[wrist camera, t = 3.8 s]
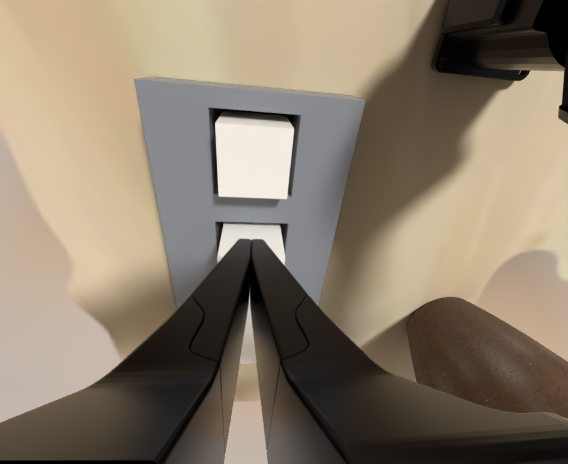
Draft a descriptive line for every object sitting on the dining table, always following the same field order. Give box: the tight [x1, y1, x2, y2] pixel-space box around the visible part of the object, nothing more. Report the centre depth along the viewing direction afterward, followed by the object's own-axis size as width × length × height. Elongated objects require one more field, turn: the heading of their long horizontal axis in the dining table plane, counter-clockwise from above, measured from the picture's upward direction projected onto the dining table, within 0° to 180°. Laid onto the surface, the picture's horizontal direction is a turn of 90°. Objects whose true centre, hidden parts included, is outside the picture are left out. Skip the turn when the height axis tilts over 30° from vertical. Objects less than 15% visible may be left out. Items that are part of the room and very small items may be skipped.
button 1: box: [239, 304, 257, 364], centre depth 22 cm, size 4×4×4 cm
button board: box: [134, 77, 365, 309], centre depth 20 cm, size 12×21×3 cm, turn 175°
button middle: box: [217, 222, 285, 304], centre depth 18 cm, size 4×4×4 cm
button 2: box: [215, 111, 294, 199], centre depth 16 cm, size 4×4×4 cm
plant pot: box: [407, 297, 568, 419], centre depth 24 cm, size 15×15×16 cm
